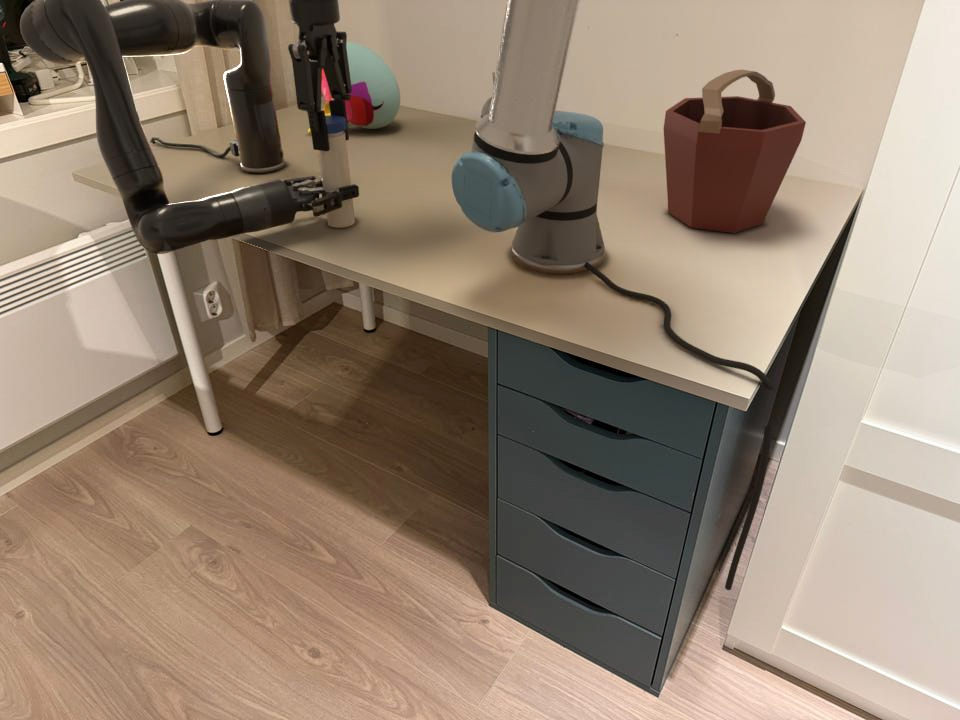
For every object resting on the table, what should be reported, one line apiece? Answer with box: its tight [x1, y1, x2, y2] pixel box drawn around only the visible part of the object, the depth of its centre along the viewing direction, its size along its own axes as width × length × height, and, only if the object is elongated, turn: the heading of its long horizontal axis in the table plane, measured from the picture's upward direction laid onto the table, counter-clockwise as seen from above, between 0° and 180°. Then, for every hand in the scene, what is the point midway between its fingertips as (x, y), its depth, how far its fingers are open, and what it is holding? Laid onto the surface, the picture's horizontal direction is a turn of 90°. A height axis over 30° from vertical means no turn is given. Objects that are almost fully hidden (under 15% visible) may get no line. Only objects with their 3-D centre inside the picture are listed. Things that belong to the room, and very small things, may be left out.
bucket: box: [663, 69, 807, 234], centre depth 125 cm, size 24×22×25 cm
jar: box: [317, 131, 356, 229], centre depth 125 cm, size 5×5×18 cm
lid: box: [325, 115, 348, 134], centre depth 120 cm, size 6×6×2 cm
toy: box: [307, 41, 401, 134], centre depth 176 cm, size 24×24×20 cm
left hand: (350, 185), depth 128 cm, fingers closed on jar, 5 cm apart
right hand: (331, 144), depth 122 cm, fingers closed on lid, 6 cm apart
